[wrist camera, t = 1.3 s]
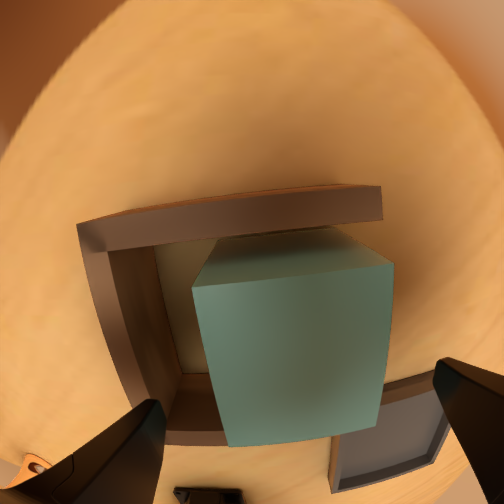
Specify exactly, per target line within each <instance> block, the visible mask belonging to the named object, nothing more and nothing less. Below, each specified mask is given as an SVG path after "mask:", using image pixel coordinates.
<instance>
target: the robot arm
mask: <svg viewBox="0 0 504 504" xmlns="http://www.w3.org/2000/svg"><path fill="white" fill-rule="evenodd" d="M432 384H433V387H434V389H435V392H436V394H437V396H438V399H439V401H440V403H441V406H442V408H443V411H444V413H445V415H446V418H447V420H448V422H449V424H450V426H451V427H452V429H453V431H454V433H455V435H456V437H457V439H458V441H459V443H460V444H461V446H462V448H463V450H464V452H465V454H466V456H467V458H468V460H469V462H470V465H471V467H472V469H473V471H474V473H475V475H476V477H477V479H478V481H479V484H480V486H481V488H482V490H483V493H484V495H485V497H486V500H487V502H488V504H504V376H503V375H500V374H497V373H494V372H491V371H488V370H485V369H482V368H479V367H476V366H473V365H470V364H467V363H464V362H461V361H458V360H455V359H453V358H450V357H445V358H442V359H439V360H438V361H437V363H436V366H435V370H434V374H433V379H432ZM166 427H167V418H166V415H165V412H164V410H163V407H162V405H161V402H160V401H159V400H158V399H145V400H144V401H142V402H141V403H140V404H139V405H137V406H136V407H135V408H133V409H132V410H131V411H129V412H128V413H127V414H125V415H124V416H123V417H121V418H120V419H119V420H117V421H116V422H115V423H113V424H112V425H111V426H109V427H108V428H107V429H105V430H104V431H103V432H101V433H100V434H99V435H97V436H96V437H94V438H93V439H92V440H90V441H89V442H87V443H86V444H85V445H83V446H82V447H80V448H79V449H78V450H76V451H75V452H73V454H70V455H69V456H67V457H66V458H65V459H63V460H62V461H60V462H58V463H57V464H55V465H54V466H52V467H50V468H49V469H47V470H45V471H43V472H42V473H40V474H38V475H36V476H34V477H32V478H30V479H28V480H26V481H24V482H22V483H20V484H18V485H16V486H13V487H11V488H7V489H0V504H153V500H154V496H155V491H156V487H157V483H158V479H159V474H160V470H161V466H162V461H163V453H164V444H165V436H166ZM173 493H174V495H175V496H176V498H177V499H178V501H179V502H180V503H181V504H246V502H245V499H244V496H243V493H242V491H240V490H203V489H185V488H174V490H173Z"/></svg>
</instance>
